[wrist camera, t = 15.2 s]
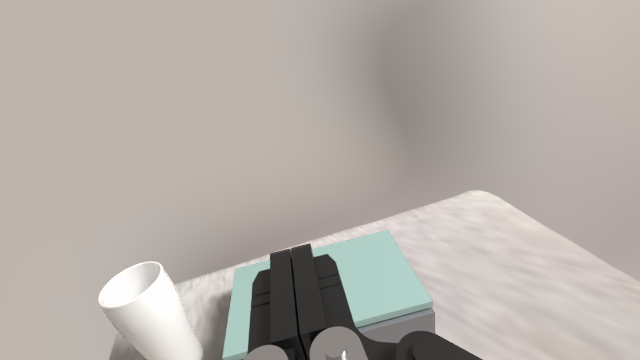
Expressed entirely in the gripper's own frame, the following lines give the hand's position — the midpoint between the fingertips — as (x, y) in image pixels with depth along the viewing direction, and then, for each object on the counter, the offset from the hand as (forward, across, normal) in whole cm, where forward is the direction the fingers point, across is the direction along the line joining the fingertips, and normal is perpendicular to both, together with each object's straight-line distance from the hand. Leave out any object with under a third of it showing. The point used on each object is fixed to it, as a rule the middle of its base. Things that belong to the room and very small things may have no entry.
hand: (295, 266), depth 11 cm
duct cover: (+21, 0, +23) cm, 31 cm away
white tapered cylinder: (+19, +20, +28) cm, 39 cm away
